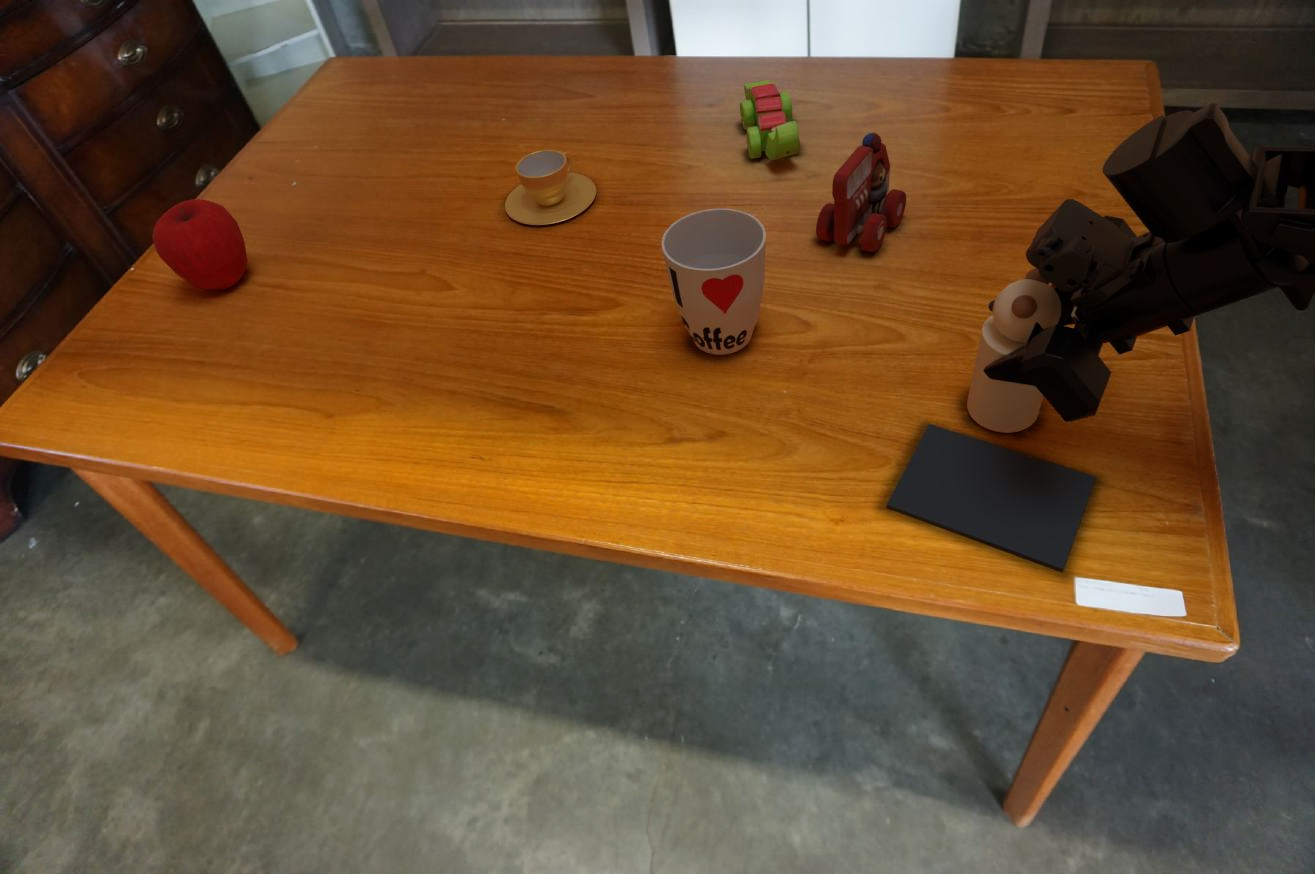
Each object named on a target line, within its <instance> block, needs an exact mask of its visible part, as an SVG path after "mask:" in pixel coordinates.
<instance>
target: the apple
mask: <svg viewBox="0 0 1315 874" xmlns="http://www.w3.org/2000/svg"><path fill="white" fill-rule="evenodd" d="M151 239H152V241H153V245H154V248H155V251H156V253H157V255H158V257H159V258H160V259H161V260H162V261H163V262H164V263H165V264H166V265H167V266H168V267H169V268H170V269H171V271H173V272H174V273H175V274H176V275H177V276H178V277H180V278H182V279H183V280H184V281H185V282H187V283H189V284H190V285H191V286H192V287H194V288H196V289H199V290H226V289H229V288H231V287H234V286H235V285H236V284H238V283H239V282H240V281H241V279H242V278H243V275H244V274H245V271H246V269H247V265H248V255H247V250H246V249H247V248H246V242H245V241H246V240H245V239H244V236H243V234H242V231H241V229H240V226H239V223H238V222H237V220H236V219H235V218H234V216H233V215H232V214H231V213H230V212H229V211H228V210H227V209H226V207H225V206H223V205H221V204H219V203H217V202H214V201H210V200H207V199H201V198H194V199H193V198H192V199H187V200H183V201H181V202H178V203H177V204H175V205H174V206H172V207H170V208H169V209H168V210H167V211H165V212H164V213H163V214H161V216H160V217H159V219H158V220H157V221H156V223H155V226H154V228H153V231H152V237H151Z"/></svg>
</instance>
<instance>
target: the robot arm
mask: <svg viewBox="0 0 1315 874" xmlns="http://www.w3.org/2000/svg"><path fill="white" fill-rule="evenodd" d="M1102 173H1103V175H1104V176H1105V178H1106V179H1107V180H1108V181H1109V183H1110V184H1111V185H1112V186H1113V188H1114V189H1115V190H1116V192H1117V193H1118V194H1119V195H1120V196H1121V198H1122V199H1123V200H1124V201H1125V202H1126V204H1127V205H1128V206H1129V208H1130V209H1131V210H1132V212H1133V213H1134V214H1135V215H1136V217H1137V218H1138V219H1139V221H1140V222H1141V223H1142V224H1143V226H1144V227H1145V228H1146V229H1147V232H1144V233H1141V234H1140V235H1136V233H1135V232H1134V231H1133V229H1132V228H1131V226H1129V224H1128V223H1127V221H1126V220H1125V219H1124V218H1122V217H1116V216H1111V215H1104V216H1103V215H1101V214H1099V213H1098V212H1096V211H1094V210H1093V209H1091V208H1089V206H1086V205H1085V204H1083V203H1082V202H1080V201H1078V200H1076V199H1073V198H1067V199H1065V200H1063V201H1062V203H1061V204H1060V205H1059V206H1058V207H1057V208H1056V209H1055V210H1054V211H1053V212H1052V214H1051V215H1049V217H1047V219H1046V220H1045V221H1044V222H1043V223H1042V224H1041V225H1040V226H1039V227H1038V229H1037V230H1036V232H1035V235H1034V238H1033V239H1032V241H1031V243H1030V245H1029V247H1028V248H1027V249H1026V251H1025V257H1026V260H1027V261H1028V263H1029V264H1030V265H1031V266H1032V267H1033V268H1034V269H1035V268H1037V269H1038V272H1039V275H1040V277H1042V278H1043V279H1045V280H1046V281H1048V282H1049V284H1051V285H1050V286H1051V287H1052V288H1053V289H1054V290H1055V291H1056V293H1057V295H1058V296H1059V299H1060V302H1061V315H1060V319H1059V321H1058V323H1057V324H1056V325H1053V326H1051V327H1048V328H1046V329H1043V328H1042V327H1041V325H1040V324H1039V323H1038V322H1036V323H1035V325H1034V327H1033V329H1032V331H1031V334H1030V336H1029V338H1028V340H1027V342H1026V344H1025V345H1023V346H1022V347H1020V348H1018V349H1016V350H1014V351H1012V352H1010V353H1008V354H1007V355H1005V356H1003V357H1001V358H999V359H997V360H996V361H994V362H992V363H991V364H989V365H987V366H986V367H985V368H984V370H983V371H984V373H985V374H986V375H987V376H988V377H989V378H990V379H992V380H999V381H1005V382H1012V383H1019V384H1025V385H1031V386H1036V388H1037V389H1038V390H1039V391H1040V392H1041V394H1042V395H1043V398H1044V399H1045V400H1046V401H1047V402H1048V403H1049V405H1050V406H1051V407H1052V408H1053V409H1054V411H1056V413H1057V414H1058V416H1060V418H1061V419H1062V420H1063V421H1064V422H1065V423H1074V422H1077V421H1080V420H1085V419H1087V418H1091V417H1095V416H1096V415H1097V412H1098V409H1099V407H1100V404H1101V402H1102V399H1103V397H1104V393H1105V391H1106V389H1107V385H1108V383H1109V380H1110V378H1111V375H1112V371H1111V370H1110V368H1109V367H1108V365H1107V364H1106V363H1105V362H1104V361H1103V360H1102V358H1101V357H1100V353H1101V350H1102V348H1103V346H1104V344H1108V343H1109V344H1110V345H1111V346H1112V348H1113V349H1114V350H1115V352H1116V353H1117V354H1118V355H1122V354H1125V353H1129V352H1132V351H1133V349H1134V347H1135V344H1136V341H1137V339H1138V337H1141V336H1143V335H1146V334H1149V333H1152V332H1155V331H1157V330H1160V329H1161V330H1162V329H1163V328H1166V327H1168V329H1169V330H1170V331H1171V332H1172V334H1173V336H1179V335H1182V334H1185V333H1188V332H1190V331H1191V328H1192V325H1193V323H1194V319H1195V317H1197V316H1200V315H1203V314H1206V313H1209V312H1212V311H1215V310H1217V309H1221V308H1223V307H1225V306H1226V307H1227V306H1229V305H1232V304H1235V303H1237V302H1241V301H1243V300H1245V299H1249V298H1251V297H1254V296H1257V295H1260V294H1263V293H1266V292H1269V291H1272V290H1274V289H1278V288H1279V290H1280V291H1281V292H1282V293H1283V295H1284V296H1285V297H1286V298H1287V299H1288V301H1289V303H1290V304H1291V305H1292V306H1293V307H1294V309H1295V310H1297V311H1300V312H1301V311H1306V310H1308V309H1309V307H1310V306H1311V302H1312V300H1313V297H1314V296H1315V146H1288V145H1287V146H1283V145H1282V146H1279V145H1275V146H1274V145H1273V146H1271V145H1268V146H1267V145H1265V146H1264V145H1260V146H1257V147H1256V148H1254V150H1253V152H1252V157H1251V156H1250V154H1249V153H1248V152H1247V150H1246V149H1245V148H1244V146H1243V145H1242V143H1241V142H1240V141H1239V139H1238V138H1237V136H1236V135H1235V133H1234V132H1233V131H1232V129H1231V127H1230V124H1229V121H1228V118H1227V117H1226V115H1225V113H1224V112H1223V111H1222V109H1221V108H1220V107H1219V105H1218V104H1217V103H1215V102H1210V103H1209V104H1207V105H1205V106H1204V107H1202V108H1200V109H1197V110H1196V111H1192V110H1181V111H1177V112H1174V113H1172V114H1169V115H1166V116H1164V115H1160V116H1158V117H1156V118H1154V119H1152V120H1151V121H1149V122H1148V123H1146V124H1144V125H1142V127H1140V128H1138V129H1137V130H1136V131H1135V132H1133V133H1132V134H1130V135H1129V136H1128V137H1127V138H1126V139H1124V140H1123V141H1122V142H1121V143H1120V144H1119V145H1118V146H1117V147H1116V148H1115V149H1114V150H1113V151H1112V152H1111V153H1110V154H1109V156H1108V157H1107V158H1106V160H1105V162H1104V163H1103V166H1102ZM1288 187H1292V188H1295V189H1298V199H1297V200H1298V201H1297V207H1296V208H1294V207H1286V201H1287V194H1288ZM1071 325H1072V326H1073V325H1074V326H1073V327H1071Z"/></svg>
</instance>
